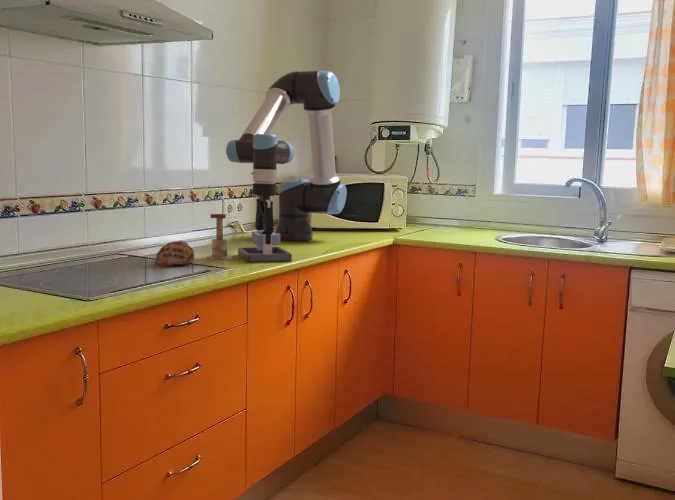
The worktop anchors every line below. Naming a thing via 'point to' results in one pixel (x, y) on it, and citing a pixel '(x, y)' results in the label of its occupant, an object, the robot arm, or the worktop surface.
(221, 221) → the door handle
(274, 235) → the ring
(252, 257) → the tray
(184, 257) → the seashell
